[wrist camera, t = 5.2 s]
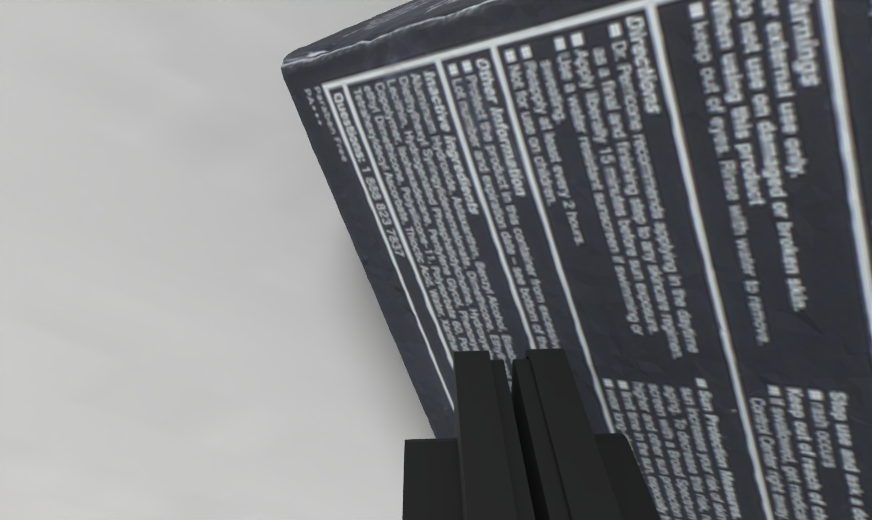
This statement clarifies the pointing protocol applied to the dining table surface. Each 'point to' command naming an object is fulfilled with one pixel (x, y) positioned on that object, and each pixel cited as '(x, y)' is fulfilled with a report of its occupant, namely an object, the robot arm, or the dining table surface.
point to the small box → (627, 222)
